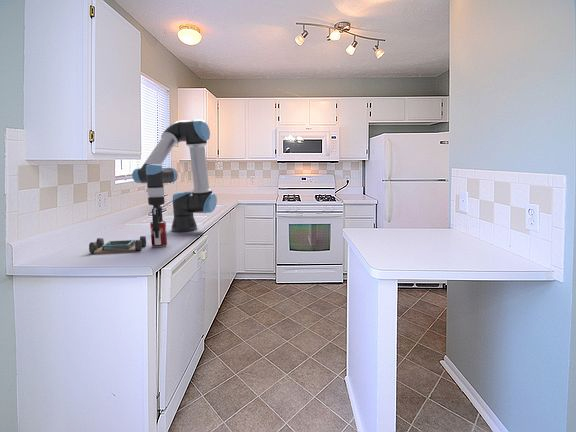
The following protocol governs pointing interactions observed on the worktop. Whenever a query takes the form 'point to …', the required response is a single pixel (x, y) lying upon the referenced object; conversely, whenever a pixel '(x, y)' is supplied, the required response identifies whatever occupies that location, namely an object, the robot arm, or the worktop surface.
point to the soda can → (162, 234)
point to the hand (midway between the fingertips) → (159, 242)
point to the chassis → (117, 246)
